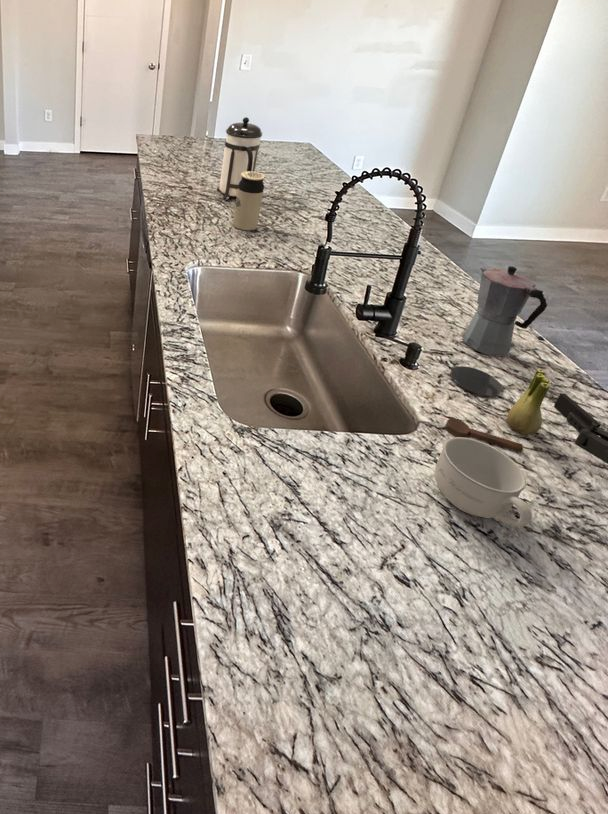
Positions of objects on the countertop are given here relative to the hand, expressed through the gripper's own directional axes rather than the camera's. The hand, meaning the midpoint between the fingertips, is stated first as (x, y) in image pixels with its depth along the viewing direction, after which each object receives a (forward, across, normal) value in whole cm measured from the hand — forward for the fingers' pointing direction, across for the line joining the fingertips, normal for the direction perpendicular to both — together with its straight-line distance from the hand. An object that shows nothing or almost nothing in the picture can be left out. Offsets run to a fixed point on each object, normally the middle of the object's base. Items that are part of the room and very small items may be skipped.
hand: (601, 400), depth 84 cm
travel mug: (+98, -29, -16) cm, 104 cm away
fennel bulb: (+10, 0, -16) cm, 19 cm away
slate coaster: (+22, 0, -16) cm, 27 cm away
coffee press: (+126, -25, -16) cm, 129 cm away
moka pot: (+35, +11, -16) cm, 39 cm away
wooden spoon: (+7, -8, -16) cm, 19 cm away
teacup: (-7, -20, -16) cm, 26 cm away
